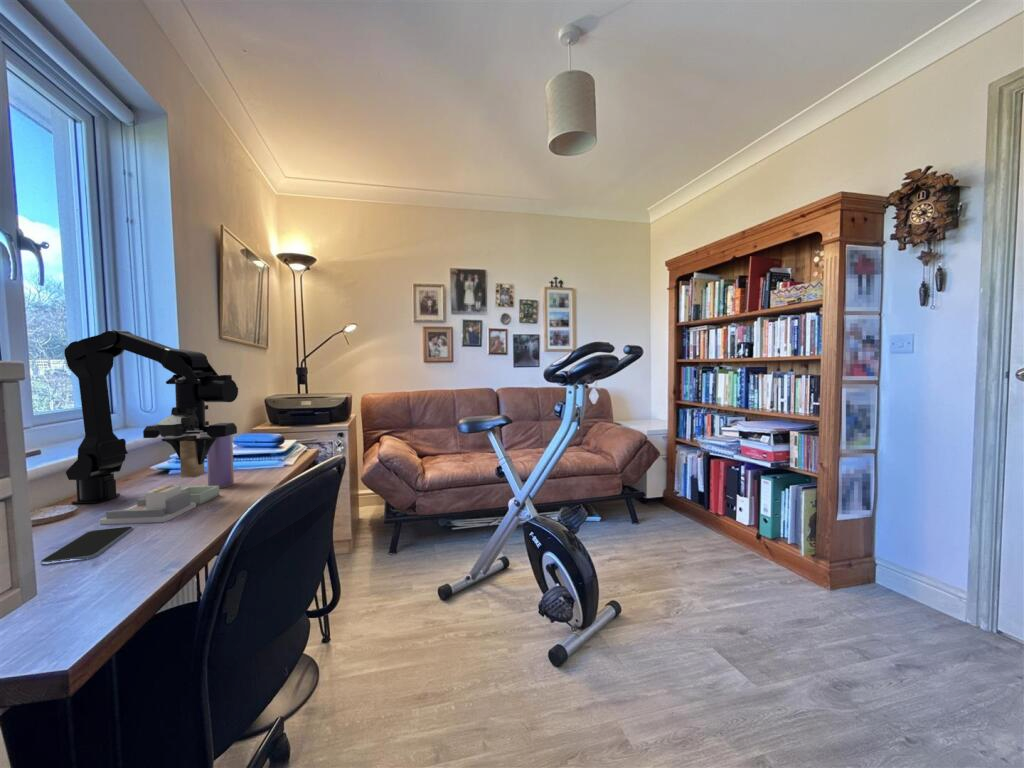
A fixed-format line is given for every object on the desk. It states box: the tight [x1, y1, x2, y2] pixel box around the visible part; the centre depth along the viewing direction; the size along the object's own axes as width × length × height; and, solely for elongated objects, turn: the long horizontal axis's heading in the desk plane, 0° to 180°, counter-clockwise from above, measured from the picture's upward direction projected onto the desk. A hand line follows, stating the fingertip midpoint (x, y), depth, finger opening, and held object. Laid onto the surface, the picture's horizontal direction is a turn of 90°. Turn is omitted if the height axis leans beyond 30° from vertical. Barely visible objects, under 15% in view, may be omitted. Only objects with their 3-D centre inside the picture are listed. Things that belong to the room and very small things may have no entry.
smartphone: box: [40, 525, 133, 563], centre depth 79 cm, size 7×1×15 cm
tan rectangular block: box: [179, 434, 206, 479], centre depth 104 cm, size 3×3×10 cm
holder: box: [181, 485, 220, 506], centre depth 105 cm, size 8×8×2 cm
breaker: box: [145, 484, 182, 512], centre depth 94 cm, size 4×5×5 cm
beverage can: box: [206, 434, 235, 489], centre depth 117 cm, size 6×6×15 cm
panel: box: [99, 492, 197, 525], centre depth 94 cm, size 13×10×4 cm
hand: (192, 464), depth 104 cm, fingers closed on tan rectangular block, 3 cm apart
